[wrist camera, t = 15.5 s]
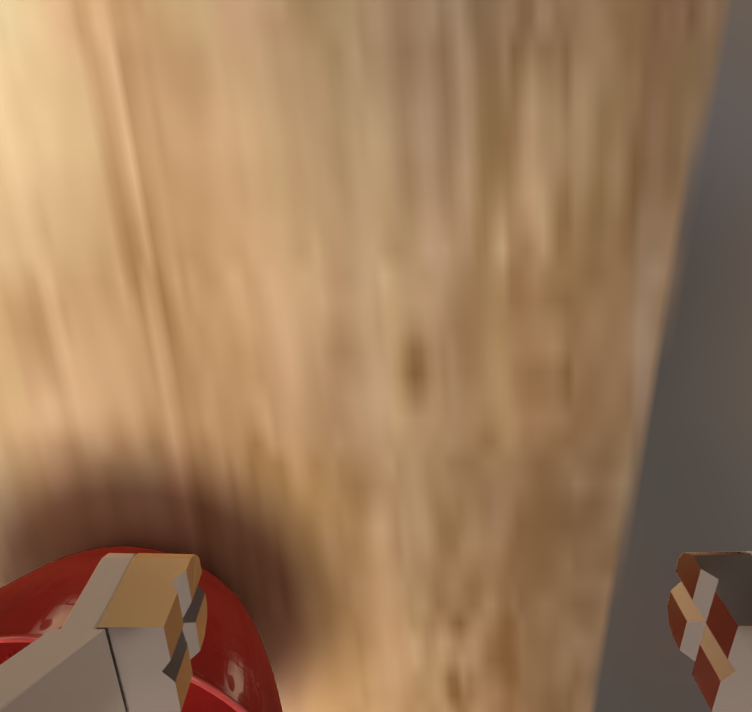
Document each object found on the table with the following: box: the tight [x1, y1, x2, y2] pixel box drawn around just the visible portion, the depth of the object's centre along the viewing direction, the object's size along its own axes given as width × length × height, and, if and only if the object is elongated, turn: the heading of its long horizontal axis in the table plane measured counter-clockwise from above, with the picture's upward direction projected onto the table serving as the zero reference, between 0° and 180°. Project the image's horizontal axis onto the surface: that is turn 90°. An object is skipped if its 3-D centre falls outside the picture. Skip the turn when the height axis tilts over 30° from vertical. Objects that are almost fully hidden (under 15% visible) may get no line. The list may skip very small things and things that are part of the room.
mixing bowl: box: [0, 546, 282, 712], centre depth 46 cm, size 28×28×16 cm
